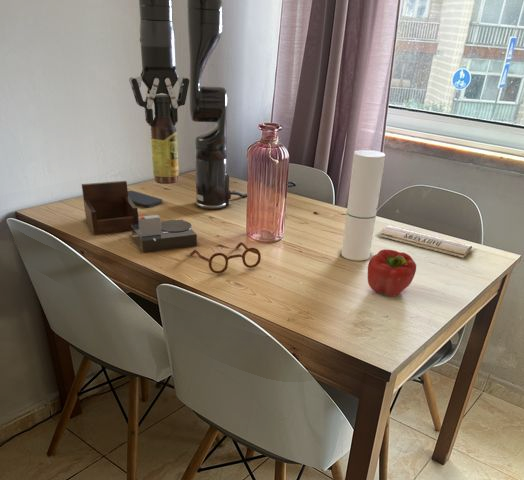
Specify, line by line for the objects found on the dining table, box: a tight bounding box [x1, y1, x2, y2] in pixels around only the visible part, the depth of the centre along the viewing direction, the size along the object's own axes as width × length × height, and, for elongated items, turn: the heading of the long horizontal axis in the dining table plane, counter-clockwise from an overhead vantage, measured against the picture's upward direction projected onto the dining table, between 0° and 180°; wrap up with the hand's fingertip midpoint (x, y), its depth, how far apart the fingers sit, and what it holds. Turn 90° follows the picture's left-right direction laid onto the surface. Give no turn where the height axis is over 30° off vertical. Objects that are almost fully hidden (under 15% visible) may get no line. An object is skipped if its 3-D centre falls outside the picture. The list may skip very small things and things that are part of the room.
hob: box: [130, 221, 198, 253], centre depth 141 cm, size 16×13×3 cm
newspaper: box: [378, 225, 473, 258], centre depth 148 cm, size 24×7×2 cm, turn 55°
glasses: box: [189, 241, 262, 275], centre depth 131 cm, size 13×13×5 cm
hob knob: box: [138, 214, 161, 237], centre depth 136 cm, size 5×2×5 cm, turn 115°
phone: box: [127, 190, 163, 208], centre depth 169 cm, size 7×1×15 cm
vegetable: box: [367, 248, 417, 297], centre depth 119 cm, size 11×10×10 cm
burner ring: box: [160, 219, 192, 232], centre depth 143 cm, size 9×9×1 cm
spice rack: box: [81, 180, 139, 235], centre depth 148 cm, size 12×12×10 cm
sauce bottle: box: [150, 94, 180, 185], centre depth 133 cm, size 7×6×20 cm
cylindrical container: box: [341, 149, 386, 261], centre depth 133 cm, size 7×7×25 cm
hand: (162, 124), depth 131 cm, fingers closed on sauce bottle, 4 cm apart
